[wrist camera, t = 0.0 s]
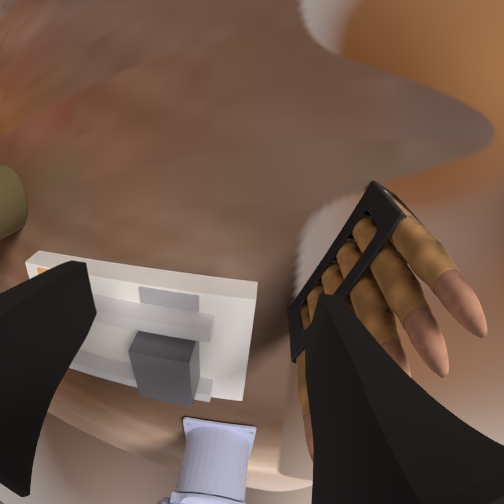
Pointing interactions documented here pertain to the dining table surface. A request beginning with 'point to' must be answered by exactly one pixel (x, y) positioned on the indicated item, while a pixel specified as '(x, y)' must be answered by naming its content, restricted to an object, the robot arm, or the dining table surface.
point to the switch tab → (165, 367)
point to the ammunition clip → (386, 287)
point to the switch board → (164, 320)
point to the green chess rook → (11, 202)
